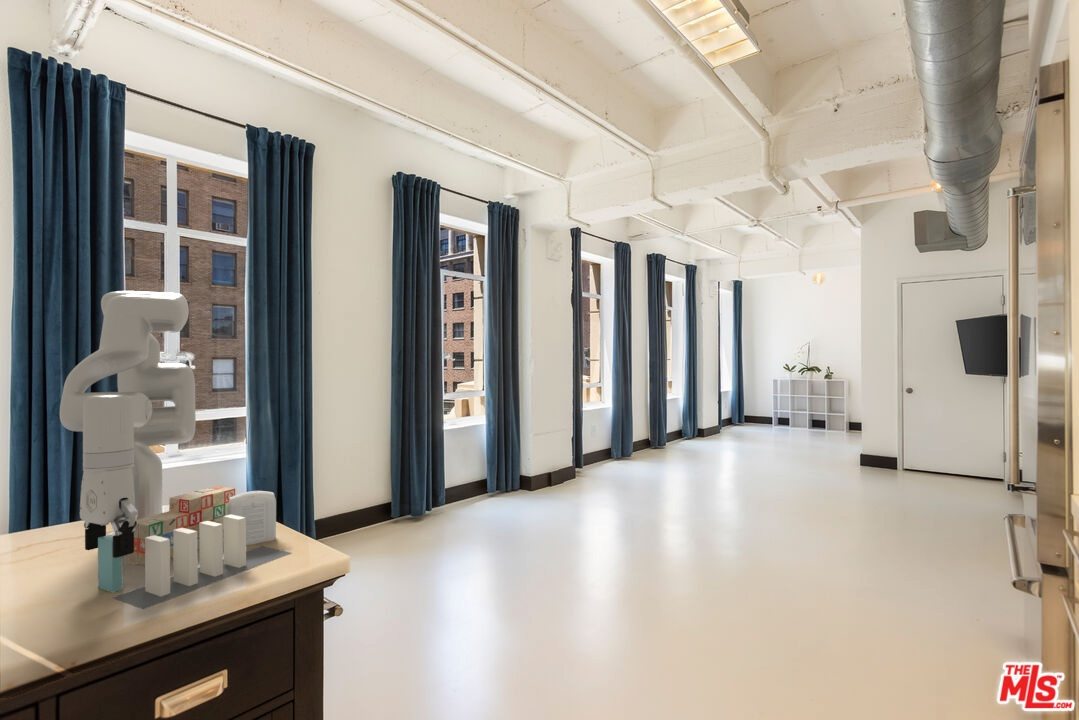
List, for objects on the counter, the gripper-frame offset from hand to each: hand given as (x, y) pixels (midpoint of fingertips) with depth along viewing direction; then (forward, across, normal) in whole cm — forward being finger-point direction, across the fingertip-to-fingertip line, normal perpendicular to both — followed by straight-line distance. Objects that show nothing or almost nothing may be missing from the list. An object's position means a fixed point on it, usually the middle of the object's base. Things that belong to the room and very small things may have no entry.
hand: (109, 551), depth 102 cm
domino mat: (+8, +9, +13) cm, 18 cm away
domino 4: (+7, +9, +13) cm, 18 cm away
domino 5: (+7, +9, +18) cm, 22 cm away
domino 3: (+7, +9, +8) cm, 14 cm away
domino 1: (+8, -1, 0) cm, 8 cm away
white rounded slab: (+7, -1, +30) cm, 30 cm away
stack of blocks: (+7, -11, +20) cm, 24 cm away
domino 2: (+7, +9, +3) cm, 12 cm away
